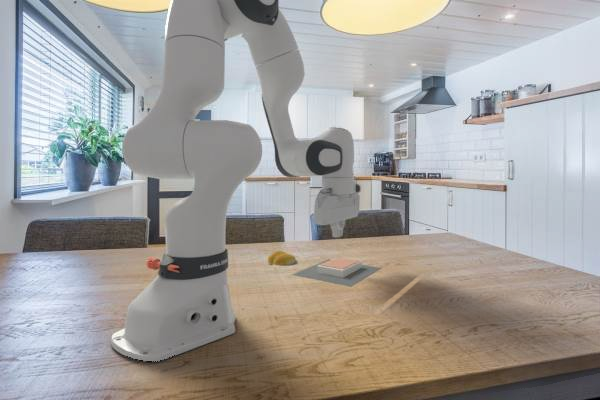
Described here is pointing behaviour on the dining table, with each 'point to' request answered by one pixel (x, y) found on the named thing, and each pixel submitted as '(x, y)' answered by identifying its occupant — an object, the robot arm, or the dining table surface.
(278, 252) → the bread roll
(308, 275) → the mat
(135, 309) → the robot arm
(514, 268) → the dining table surface
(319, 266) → the tile
